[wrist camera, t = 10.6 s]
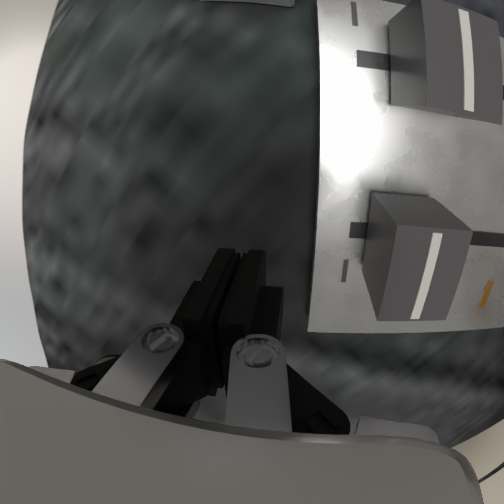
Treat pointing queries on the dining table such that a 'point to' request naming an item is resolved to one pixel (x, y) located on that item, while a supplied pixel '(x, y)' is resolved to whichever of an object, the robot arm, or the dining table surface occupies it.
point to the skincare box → (264, 2)
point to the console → (394, 176)
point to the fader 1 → (446, 61)
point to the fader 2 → (413, 257)
